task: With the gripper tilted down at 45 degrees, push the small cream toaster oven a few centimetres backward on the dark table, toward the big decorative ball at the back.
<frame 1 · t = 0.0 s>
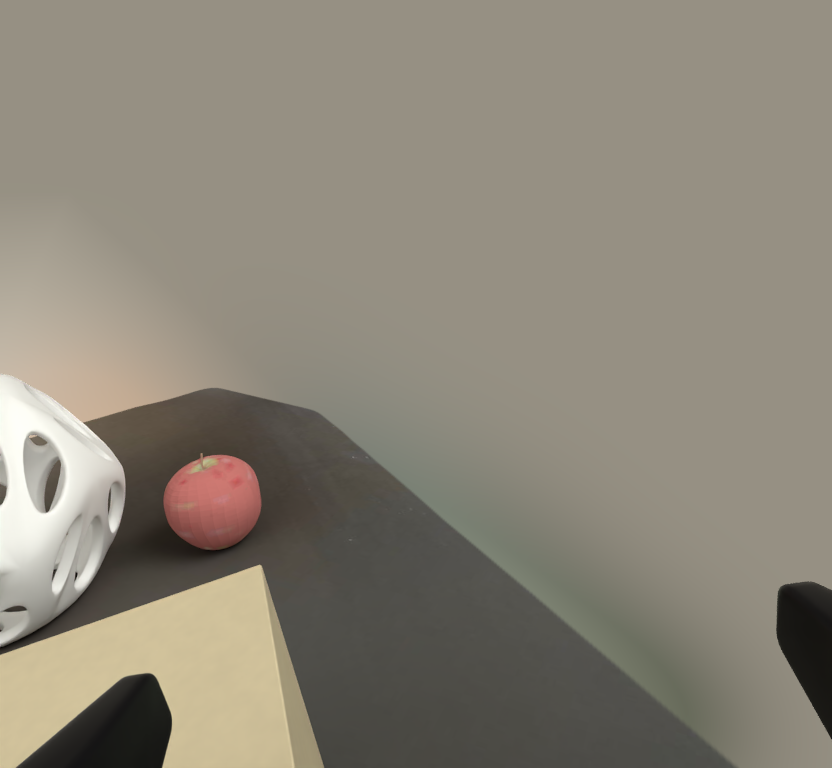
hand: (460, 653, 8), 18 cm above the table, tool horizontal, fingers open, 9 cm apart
apple: (228, 542, 48), on the table
decorative ball: (19, 609, 44), on the table
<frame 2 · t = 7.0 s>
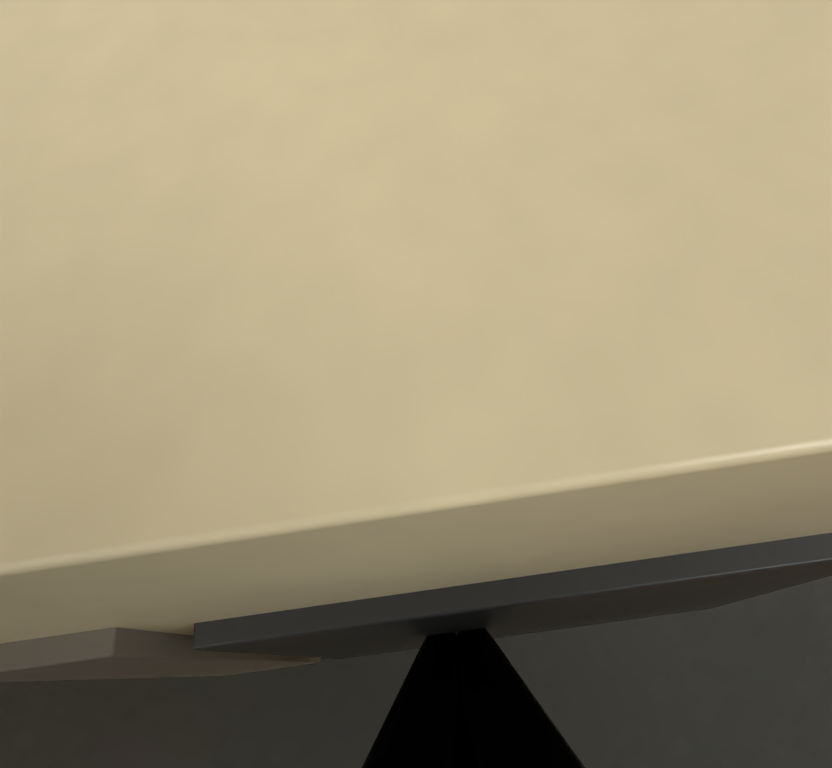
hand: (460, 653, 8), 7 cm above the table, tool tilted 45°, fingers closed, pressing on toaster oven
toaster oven: (442, 419, 17), on the table, touching gripper
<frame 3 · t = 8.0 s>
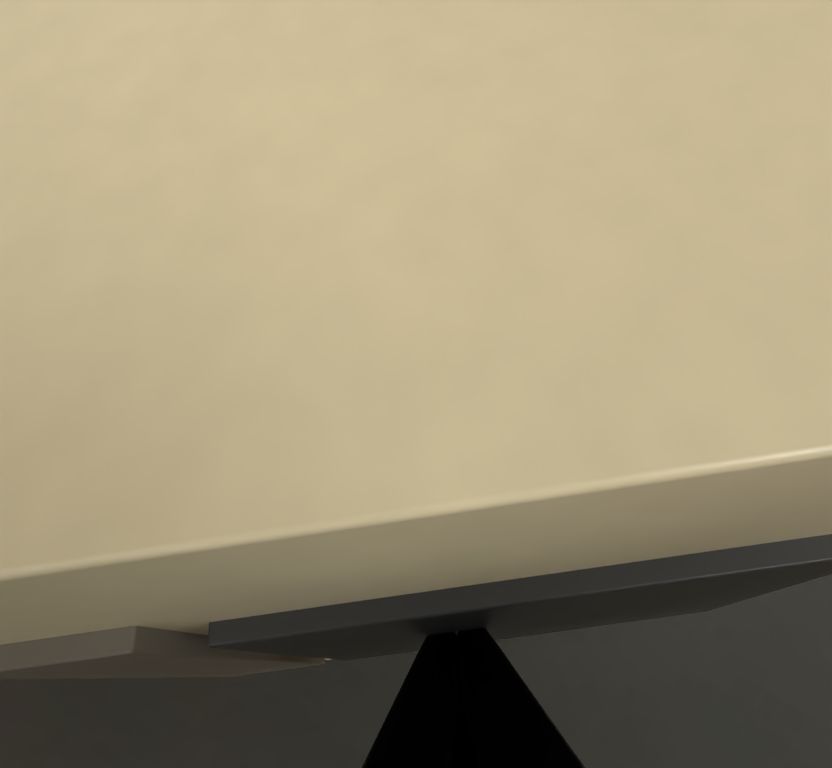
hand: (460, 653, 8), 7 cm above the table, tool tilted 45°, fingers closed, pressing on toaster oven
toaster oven: (443, 425, 18), on the table, touching gripper
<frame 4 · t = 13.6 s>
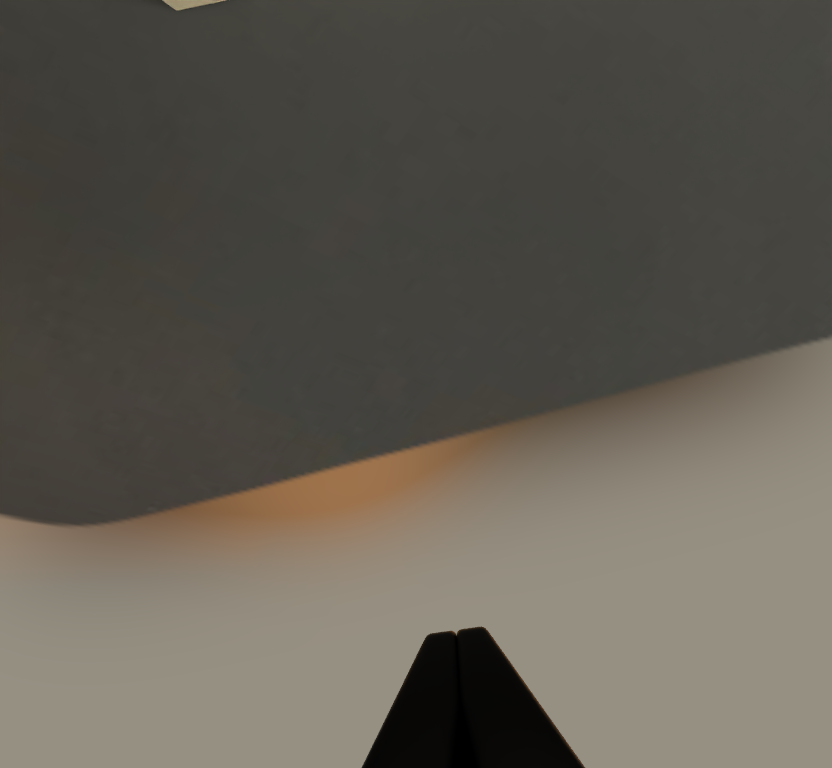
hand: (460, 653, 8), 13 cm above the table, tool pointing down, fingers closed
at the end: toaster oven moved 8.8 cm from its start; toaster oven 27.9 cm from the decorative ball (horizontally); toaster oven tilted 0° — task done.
